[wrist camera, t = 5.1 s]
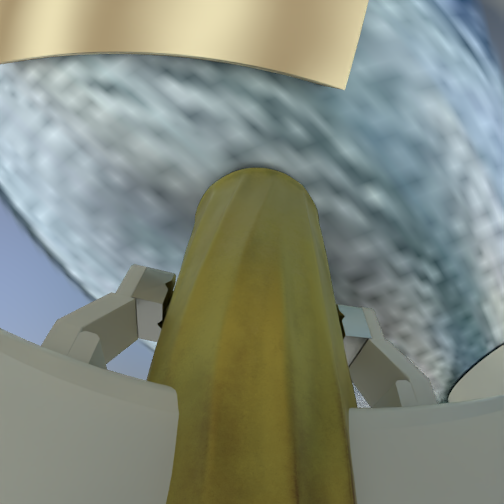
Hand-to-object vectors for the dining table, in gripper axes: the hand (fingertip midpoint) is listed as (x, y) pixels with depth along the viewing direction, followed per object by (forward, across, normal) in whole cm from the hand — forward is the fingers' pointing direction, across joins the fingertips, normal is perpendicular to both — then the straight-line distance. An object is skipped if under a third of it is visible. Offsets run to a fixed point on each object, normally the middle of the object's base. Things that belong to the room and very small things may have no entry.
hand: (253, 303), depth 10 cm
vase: (+6, 0, 0) cm, 6 cm away
